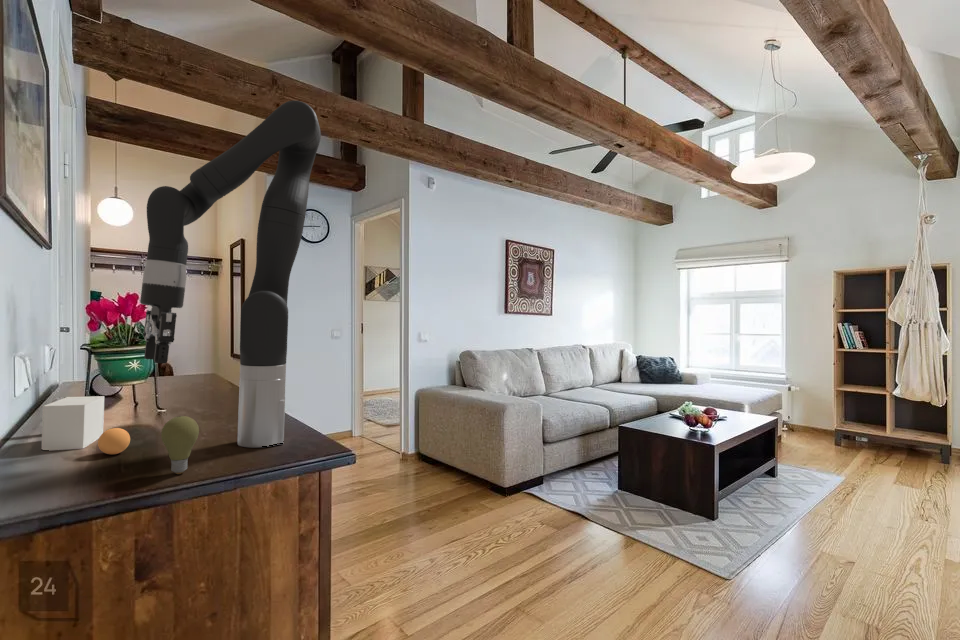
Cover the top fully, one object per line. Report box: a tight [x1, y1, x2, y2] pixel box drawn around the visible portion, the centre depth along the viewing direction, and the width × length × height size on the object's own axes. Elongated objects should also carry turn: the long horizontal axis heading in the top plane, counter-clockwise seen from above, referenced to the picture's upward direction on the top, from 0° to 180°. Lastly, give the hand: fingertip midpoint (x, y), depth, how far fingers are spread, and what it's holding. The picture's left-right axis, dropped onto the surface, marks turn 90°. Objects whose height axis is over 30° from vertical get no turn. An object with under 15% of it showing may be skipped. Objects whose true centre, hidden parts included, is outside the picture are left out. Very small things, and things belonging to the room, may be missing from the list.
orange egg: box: [97, 427, 131, 455], centre depth 92 cm, size 5×5×5 cm
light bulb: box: [160, 415, 200, 475], centre depth 83 cm, size 6×6×10 cm
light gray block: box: [41, 395, 105, 451], centre depth 99 cm, size 7×11×9 cm, turn 22°
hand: (155, 361), depth 99 cm, fingers open, 8 cm apart
